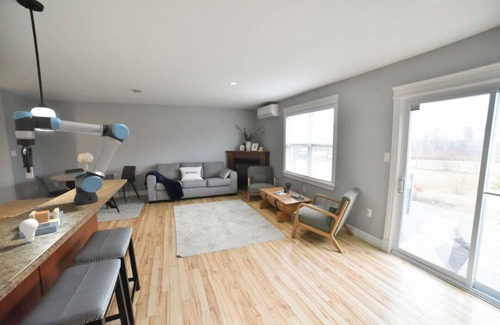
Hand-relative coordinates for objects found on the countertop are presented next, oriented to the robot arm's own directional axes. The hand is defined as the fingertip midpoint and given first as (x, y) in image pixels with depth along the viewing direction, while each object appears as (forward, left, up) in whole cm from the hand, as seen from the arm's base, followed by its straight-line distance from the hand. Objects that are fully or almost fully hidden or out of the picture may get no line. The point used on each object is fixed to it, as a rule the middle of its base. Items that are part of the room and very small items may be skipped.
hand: (29, 177), depth 123 cm
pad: (+17, +18, -24) cm, 34 cm away
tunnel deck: (+14, +16, -24) cm, 32 cm away
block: (+16, +17, -21) cm, 31 cm away
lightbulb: (+34, +25, -25) cm, 49 cm away
